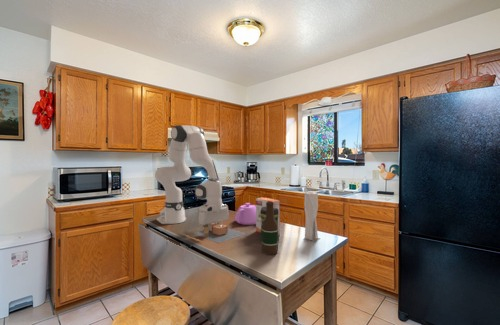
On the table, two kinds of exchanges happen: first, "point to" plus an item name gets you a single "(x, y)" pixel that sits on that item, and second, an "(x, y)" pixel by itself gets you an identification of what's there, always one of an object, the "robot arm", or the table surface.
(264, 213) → the coffee jar
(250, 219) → the teapot
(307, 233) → the skyscraper
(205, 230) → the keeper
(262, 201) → the cracker box
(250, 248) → the table surface
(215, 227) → the square column with socket
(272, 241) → the beer bottle
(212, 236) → the board
